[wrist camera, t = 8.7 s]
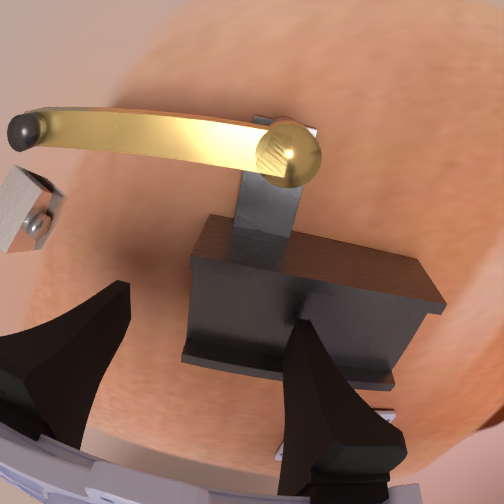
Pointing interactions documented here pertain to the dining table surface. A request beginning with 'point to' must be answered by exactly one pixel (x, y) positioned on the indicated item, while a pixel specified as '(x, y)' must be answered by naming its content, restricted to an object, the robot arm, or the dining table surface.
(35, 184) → the knobbed drawer block
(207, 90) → the dining table surface
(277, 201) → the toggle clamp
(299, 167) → the lever
